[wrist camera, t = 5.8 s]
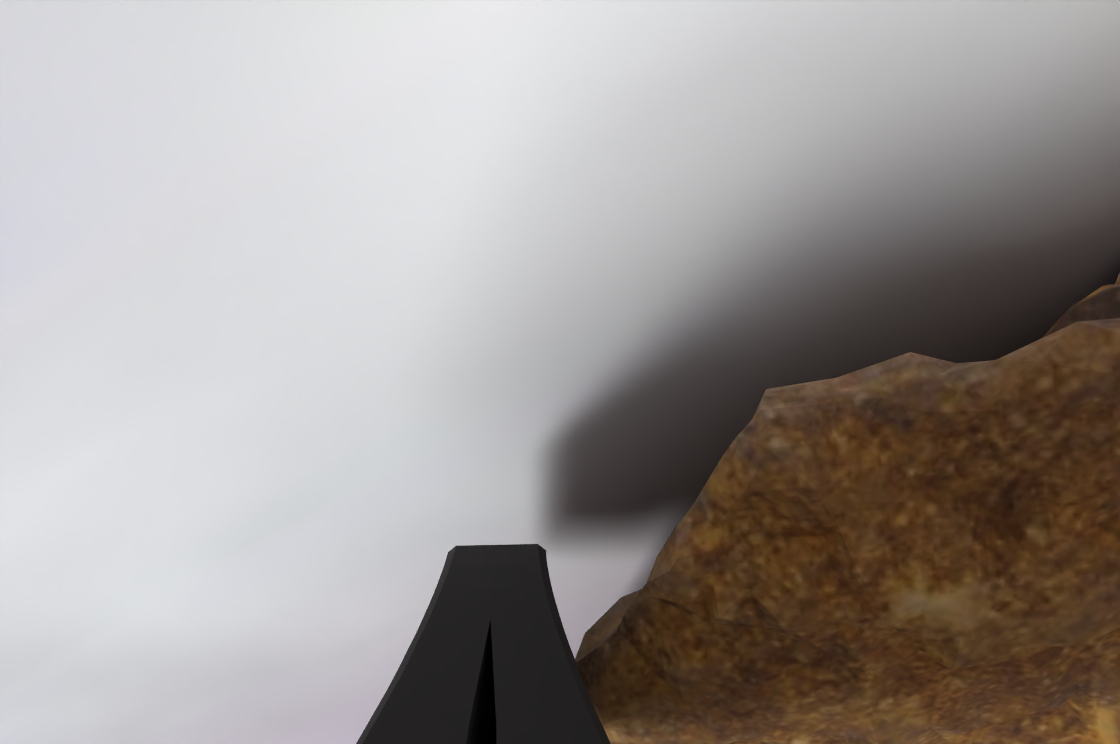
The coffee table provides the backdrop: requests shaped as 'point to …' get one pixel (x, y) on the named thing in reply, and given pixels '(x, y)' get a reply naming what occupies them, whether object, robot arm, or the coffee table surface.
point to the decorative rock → (893, 562)
